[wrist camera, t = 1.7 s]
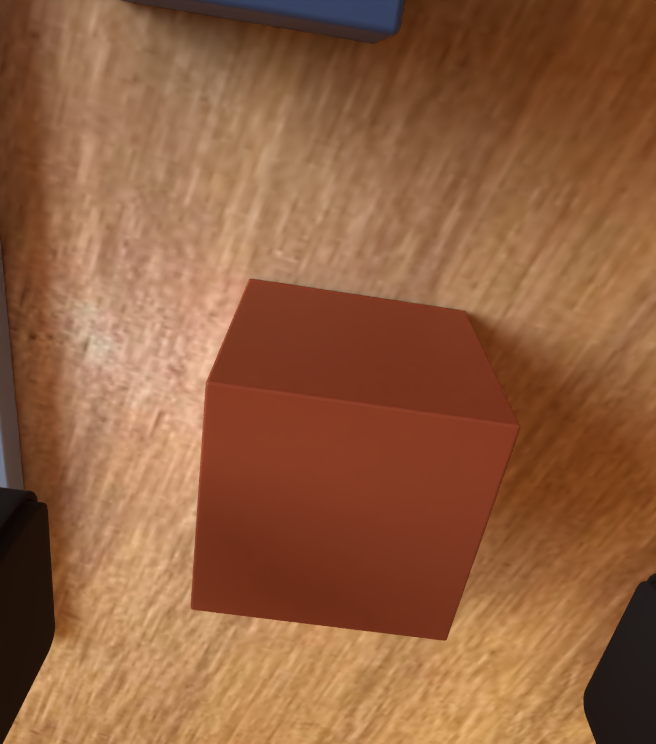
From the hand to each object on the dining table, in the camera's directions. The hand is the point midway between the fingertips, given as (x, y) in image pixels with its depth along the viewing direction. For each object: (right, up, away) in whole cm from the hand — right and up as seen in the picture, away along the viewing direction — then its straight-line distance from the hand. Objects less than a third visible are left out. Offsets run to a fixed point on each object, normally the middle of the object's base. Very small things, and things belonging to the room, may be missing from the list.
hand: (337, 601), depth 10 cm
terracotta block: (0, +3, +5) cm, 6 cm away
